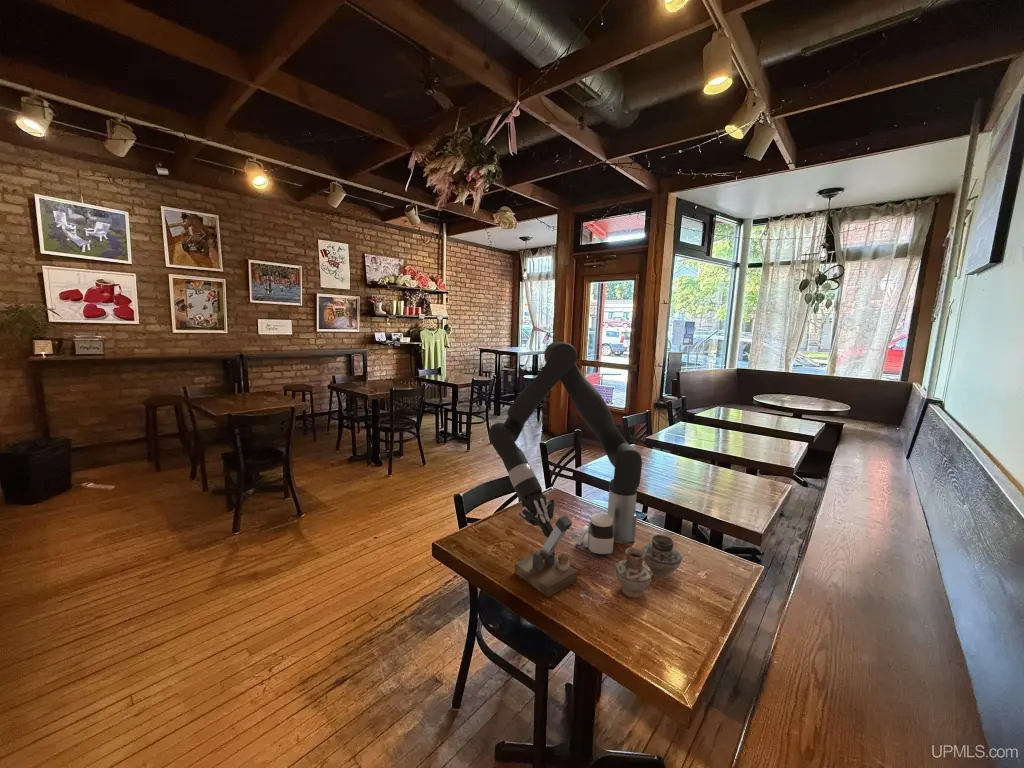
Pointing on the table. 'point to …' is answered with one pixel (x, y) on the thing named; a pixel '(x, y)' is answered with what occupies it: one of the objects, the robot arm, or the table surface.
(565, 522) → the lever
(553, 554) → the press base
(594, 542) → the spread jar
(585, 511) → the table surface
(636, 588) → the pottery
